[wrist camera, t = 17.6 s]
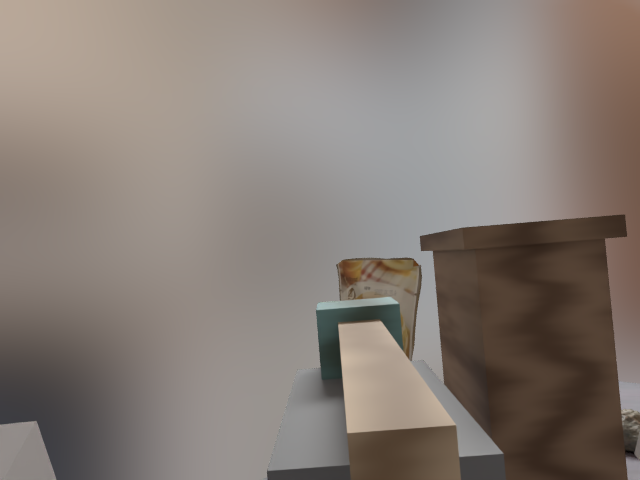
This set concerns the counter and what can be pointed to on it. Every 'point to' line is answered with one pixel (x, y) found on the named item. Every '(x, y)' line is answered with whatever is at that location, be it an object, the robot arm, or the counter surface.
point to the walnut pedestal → (534, 342)
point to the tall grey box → (331, 432)
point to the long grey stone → (630, 428)
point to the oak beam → (384, 395)
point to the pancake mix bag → (385, 287)
